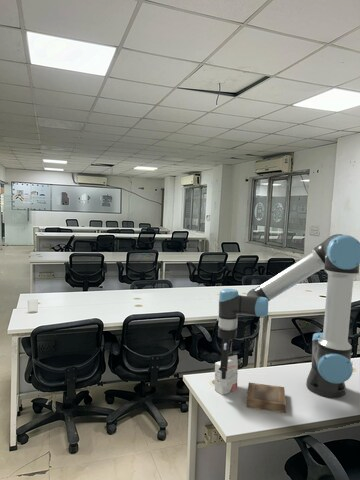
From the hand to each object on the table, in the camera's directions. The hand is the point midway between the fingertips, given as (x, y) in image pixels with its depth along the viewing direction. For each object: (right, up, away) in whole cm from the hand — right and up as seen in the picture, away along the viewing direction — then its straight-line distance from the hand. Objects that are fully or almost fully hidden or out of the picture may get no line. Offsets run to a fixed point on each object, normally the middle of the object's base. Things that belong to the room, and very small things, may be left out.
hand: (225, 378), depth 143 cm
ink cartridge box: (0, -5, 0) cm, 5 cm away
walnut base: (+15, -6, -8) cm, 17 cm away
